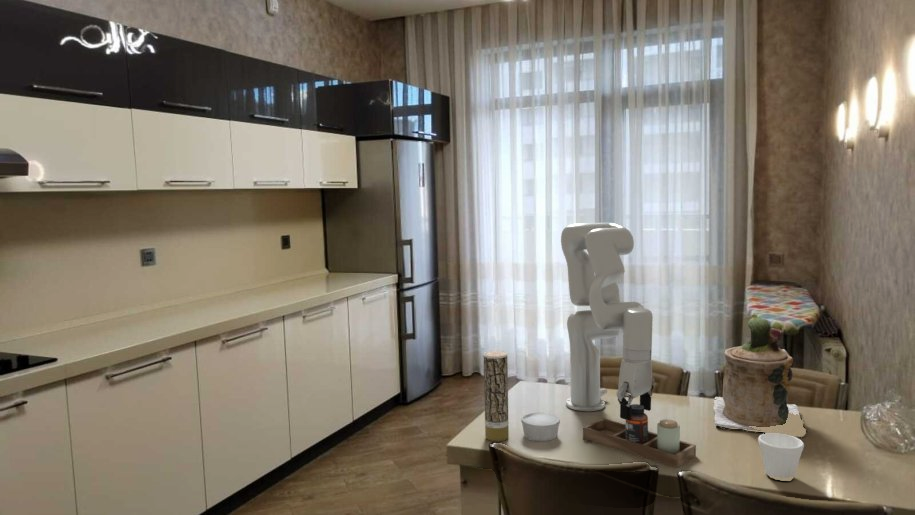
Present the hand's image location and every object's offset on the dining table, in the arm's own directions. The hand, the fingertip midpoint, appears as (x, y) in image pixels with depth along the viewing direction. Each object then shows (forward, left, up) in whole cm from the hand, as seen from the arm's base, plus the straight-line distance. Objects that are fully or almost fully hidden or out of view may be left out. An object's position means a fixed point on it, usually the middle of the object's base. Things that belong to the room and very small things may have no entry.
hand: (635, 414), depth 175 cm
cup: (-9, +35, -10) cm, 37 cm away
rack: (0, +1, -9) cm, 9 cm away
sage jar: (0, +10, -9) cm, 13 cm away
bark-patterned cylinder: (+21, -32, -10) cm, 40 cm away
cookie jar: (-43, +15, -10) cm, 47 cm away
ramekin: (+11, -24, -10) cm, 29 cm away
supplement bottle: (0, +1, -9) cm, 9 cm away
